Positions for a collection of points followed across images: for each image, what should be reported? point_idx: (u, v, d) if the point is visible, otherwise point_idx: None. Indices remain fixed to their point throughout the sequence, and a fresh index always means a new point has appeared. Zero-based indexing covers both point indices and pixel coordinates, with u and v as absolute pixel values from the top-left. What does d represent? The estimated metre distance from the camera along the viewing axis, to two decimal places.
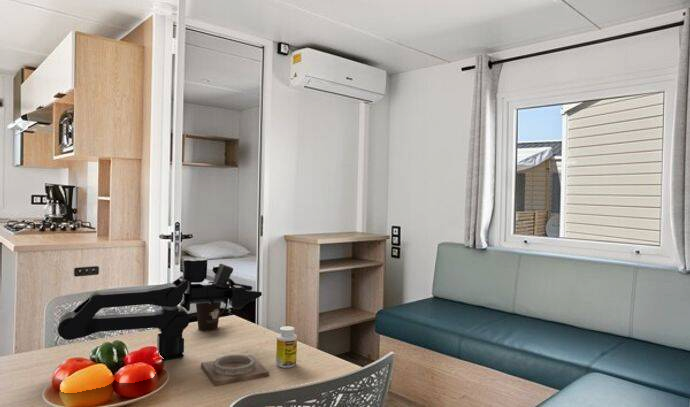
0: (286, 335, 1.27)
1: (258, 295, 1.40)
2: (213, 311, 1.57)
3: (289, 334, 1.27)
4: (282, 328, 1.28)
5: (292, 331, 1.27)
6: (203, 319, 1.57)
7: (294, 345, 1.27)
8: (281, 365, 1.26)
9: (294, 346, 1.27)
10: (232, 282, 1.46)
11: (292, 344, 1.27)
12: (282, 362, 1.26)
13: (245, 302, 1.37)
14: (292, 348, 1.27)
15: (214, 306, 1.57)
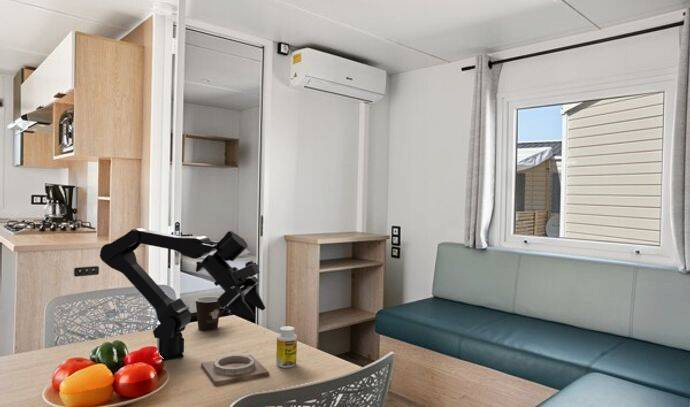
0: (286, 335, 1.27)
1: (249, 316, 1.25)
2: (213, 311, 1.57)
3: (289, 334, 1.27)
4: (282, 328, 1.28)
5: (292, 331, 1.27)
6: (203, 319, 1.57)
7: (294, 345, 1.27)
8: (281, 365, 1.26)
9: (294, 346, 1.27)
10: (254, 288, 1.35)
11: (292, 344, 1.27)
12: (282, 362, 1.26)
13: (233, 309, 1.24)
14: (292, 348, 1.27)
15: (214, 306, 1.57)
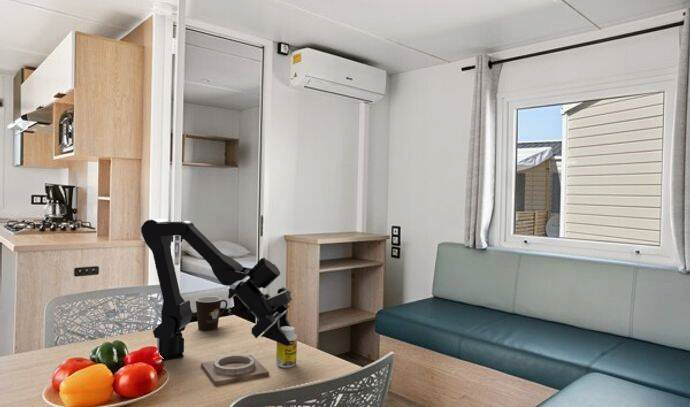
0: (286, 335, 1.27)
1: (285, 343, 1.25)
2: (213, 311, 1.57)
3: (289, 334, 1.27)
4: (282, 328, 1.28)
5: (292, 331, 1.27)
6: (203, 319, 1.57)
7: (294, 345, 1.27)
8: (281, 365, 1.26)
9: (294, 346, 1.27)
10: (284, 316, 1.32)
11: (292, 344, 1.27)
12: (282, 362, 1.26)
13: (268, 336, 1.24)
14: (292, 348, 1.27)
15: (214, 306, 1.57)
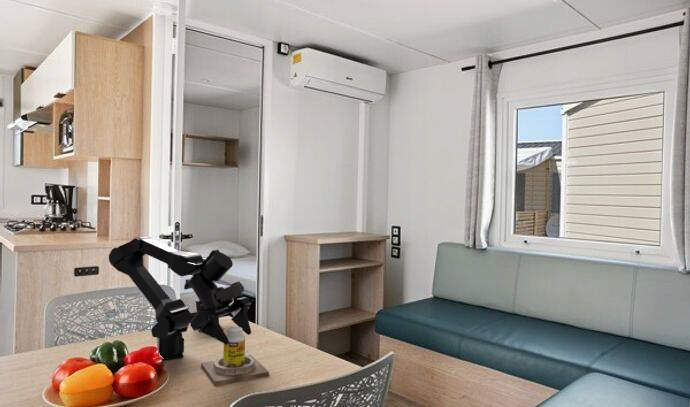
0: (231, 336, 1.21)
1: (223, 341, 1.18)
2: None
3: (234, 335, 1.21)
4: (229, 328, 1.23)
5: (237, 332, 1.22)
6: None
7: (239, 347, 1.21)
8: None
9: (238, 348, 1.21)
10: (242, 310, 1.28)
11: (236, 346, 1.21)
12: (226, 363, 1.21)
13: (207, 332, 1.19)
14: (235, 350, 1.21)
15: None
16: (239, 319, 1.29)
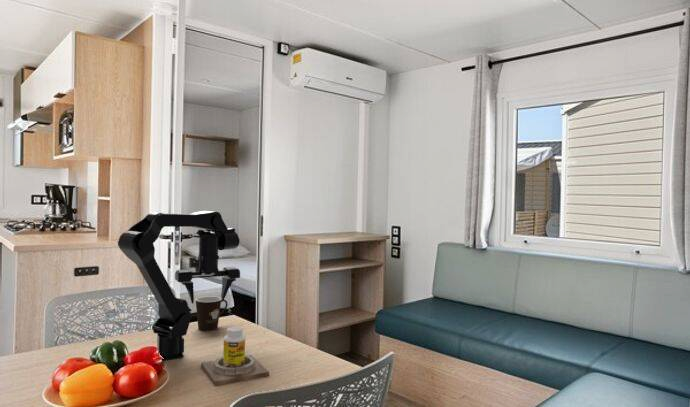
0: (231, 336, 1.21)
1: None
2: (213, 311, 1.57)
3: (234, 335, 1.21)
4: (229, 328, 1.23)
5: (237, 332, 1.22)
6: (203, 319, 1.57)
7: (239, 347, 1.21)
8: None
9: (238, 348, 1.21)
10: None
11: (236, 346, 1.21)
12: (226, 363, 1.21)
13: None
14: (235, 350, 1.21)
15: (214, 306, 1.57)
16: None
